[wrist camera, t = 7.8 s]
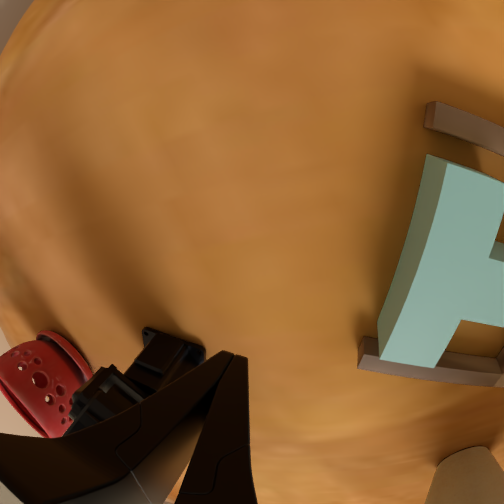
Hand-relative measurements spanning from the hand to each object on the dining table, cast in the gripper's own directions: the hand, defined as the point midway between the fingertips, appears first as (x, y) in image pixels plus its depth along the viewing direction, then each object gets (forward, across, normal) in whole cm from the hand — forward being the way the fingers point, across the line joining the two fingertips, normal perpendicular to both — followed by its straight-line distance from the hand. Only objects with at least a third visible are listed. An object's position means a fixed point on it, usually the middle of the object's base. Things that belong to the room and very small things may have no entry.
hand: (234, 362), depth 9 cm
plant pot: (+12, -28, +24) cm, 39 cm away
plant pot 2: (+12, +28, +26) cm, 40 cm away
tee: (+12, -13, -1) cm, 18 cm away
